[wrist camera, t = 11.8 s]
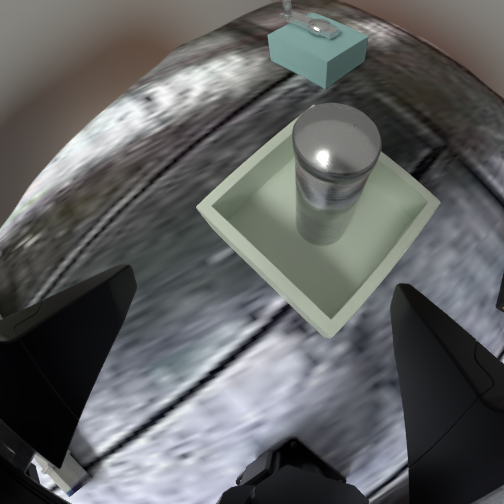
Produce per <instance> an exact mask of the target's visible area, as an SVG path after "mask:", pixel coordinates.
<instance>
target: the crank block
mask: <svg viewBox="0 0 504 504" xmlns="http://www.w3.org/2000/svg"><path fill="white" fill-rule="evenodd" d="M306 16H308V17H311V18H313V19H324V20H327V21H328V22H330V25H331V26H333V27H335V28H338V29H339V34H338V35H337V36H335V37H333V38H331V39H328V38H326V37H316V36H313V35H311V34H310V33H309V32H308V30H307V29H305V28H302V27H300V26H297V25H294V24H292V23H290V24H288V25H286V26H284V27H282V28H280V29H278V30H276V31H274V32H272V33H271V34H269V35H268V41H269V48H270V56H271V61H273V62H275V63H277V64H279V65H281V66H283V67H285V68H287V69H289V70H291V71H293V72H295V73H297V74H299V75H301V76H302V77H304V78H306V79H308V80H310V81H312V82H313V83H315V84H317V85H319V86H320V87H322V88H324V89H327V88H328V87H329V86H331V85H332V84H333V83H335V82H336V81H338V80H339V79H340V78H342V77H343V76H344V75H346V74H347V73H349V72H350V71H351V70H353V69H354V68H356V67H357V66H358V65H360V64H361V63H363V62H364V61H365V56H366V49H367V43H368V37H369V36H367V35H364V34H362V33H360V32H358V31H356V30H354V29H352V28H350V27H347V26H345V25H343V24H340V23H338V22H336V21H333V20H331V19H328V18H326V17H323V16H321V15H318V14H315V13H313V12H312V13H310V14H308V15H306Z"/></svg>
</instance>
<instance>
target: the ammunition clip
mask: <svg viewBox="0 0 504 504" xmlns="http://www.w3.org/2000/svg"><path fill="white" fill-rule="evenodd" d="M496 308H497V309H499V310H501V311H502V312H504V274H503V279H502V283H501V288H500V292H499V296H498V300H497V304H496Z"/></svg>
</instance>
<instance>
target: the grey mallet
mask: <svg viewBox="0 0 504 504" xmlns="http://www.w3.org/2000/svg"><path fill="white" fill-rule="evenodd" d="M1 319H3V318H2V316H1V314H0V320H1ZM71 453H72V452H71V451H70V450H68V451H67V453H66V456H65V459H64V462H63V465H62V467H61V469H58V468H56V467H54V466H53V465H51V464H50V463H48V462H46V461H45V460H43V459H42V458H40V457H39V456H37V455H36V454H35V456H34V458H35V459H36V461H37V462H38V463H39V465H40V466H41V467H42V468H43V470H42V471H41V472H42V473H43V474H46V473H47V474H48V475H49V476H50V478H51V479H52V480H53V481H54V482H55V483H56V484H57V485H58V486H59V487H60V488H61V489H62V490H63V491H64V492H65V493H66V494H67V495H68V496H69V497H70V496H71V495H73V494H74V493H75V492H77V491H78V490H79V489H80V488H81V487H83V486H84V485H85V484H86V483H87V482H88V481H89V480H90V479H92V477H91V476H90V475H89V474H88V473H87V472H86V471H85V470H84V469H83V468H82V467H81V466H80V465H79V464H78V463H77V462H76V461H75V460H74V458H73V457H72V456H71V455H70V454H71Z"/></svg>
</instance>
